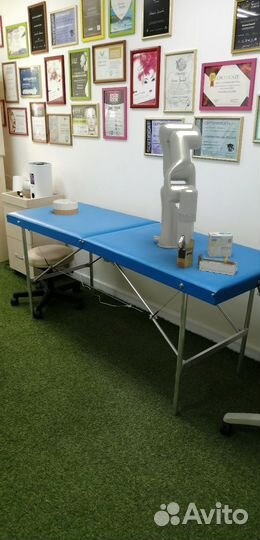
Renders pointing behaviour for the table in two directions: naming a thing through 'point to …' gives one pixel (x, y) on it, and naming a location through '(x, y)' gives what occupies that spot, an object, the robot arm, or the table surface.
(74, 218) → the table surface
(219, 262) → the plunger
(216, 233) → the light bulb box
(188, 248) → the shoe polish box
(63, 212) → the bowl
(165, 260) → the table surface
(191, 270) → the table surface
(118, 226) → the table surface
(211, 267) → the gauge rail
